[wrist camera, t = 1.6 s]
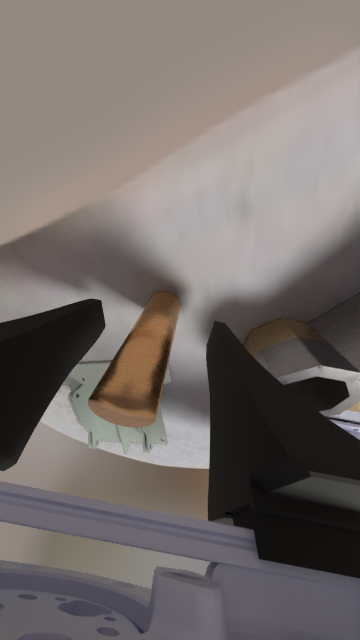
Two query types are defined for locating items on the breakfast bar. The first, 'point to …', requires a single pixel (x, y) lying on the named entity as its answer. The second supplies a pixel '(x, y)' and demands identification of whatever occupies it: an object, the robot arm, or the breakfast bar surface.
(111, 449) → the breakfast bar surface
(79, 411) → the metal bracket
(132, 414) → the hinge pin
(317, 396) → the hinge
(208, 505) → the robot arm
